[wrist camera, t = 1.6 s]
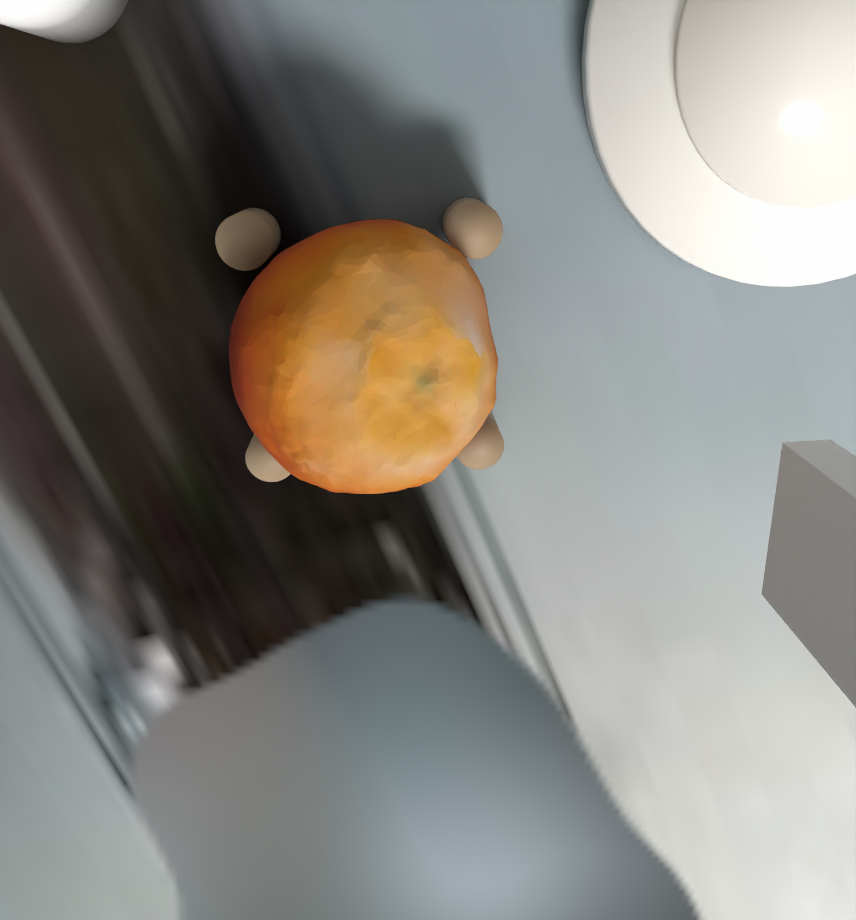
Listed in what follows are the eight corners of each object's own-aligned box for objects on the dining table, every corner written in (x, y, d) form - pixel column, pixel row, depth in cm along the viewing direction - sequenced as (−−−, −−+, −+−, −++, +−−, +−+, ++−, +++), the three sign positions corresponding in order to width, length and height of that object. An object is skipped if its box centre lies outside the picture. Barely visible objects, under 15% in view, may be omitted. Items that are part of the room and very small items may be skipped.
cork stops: (259, 455, 28) (248, 483, 26) (227, 208, 25) (211, 215, 22) (494, 441, 28) (504, 467, 26) (491, 196, 25) (502, 201, 23)
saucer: (575, 292, 26) (584, 299, 25) (589, -230, 21) (603, -254, 20) (978, 270, 27) (1008, 277, 26) (1090, -244, 22) (1135, -268, 20)
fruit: (174, 199, 23) (290, 232, 17) (399, 205, 28) (555, 232, 22) (187, 452, 26) (290, 555, 20) (388, 421, 31) (522, 498, 25)
